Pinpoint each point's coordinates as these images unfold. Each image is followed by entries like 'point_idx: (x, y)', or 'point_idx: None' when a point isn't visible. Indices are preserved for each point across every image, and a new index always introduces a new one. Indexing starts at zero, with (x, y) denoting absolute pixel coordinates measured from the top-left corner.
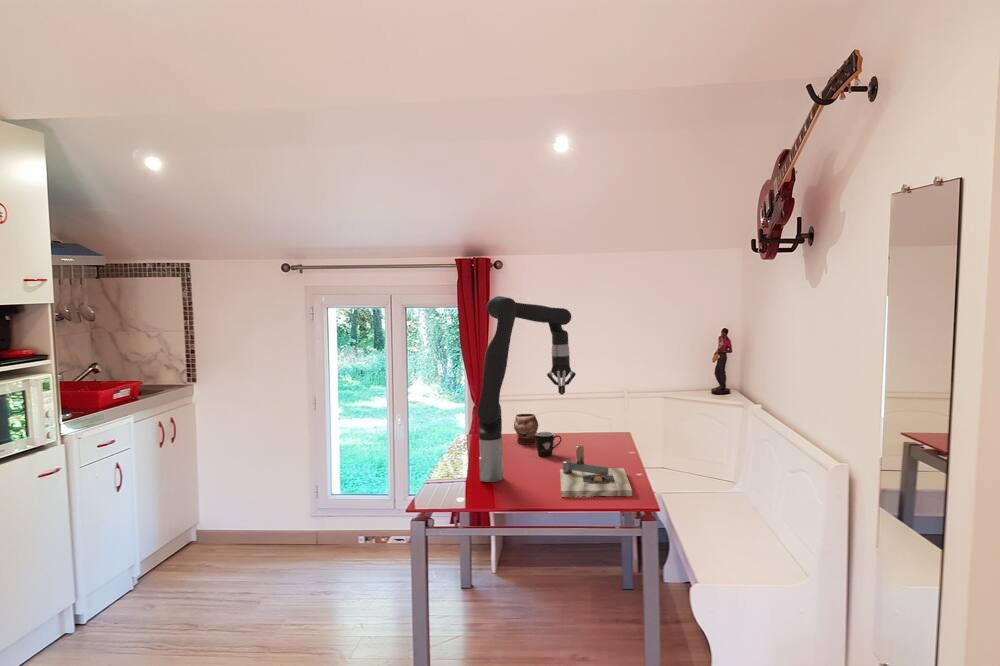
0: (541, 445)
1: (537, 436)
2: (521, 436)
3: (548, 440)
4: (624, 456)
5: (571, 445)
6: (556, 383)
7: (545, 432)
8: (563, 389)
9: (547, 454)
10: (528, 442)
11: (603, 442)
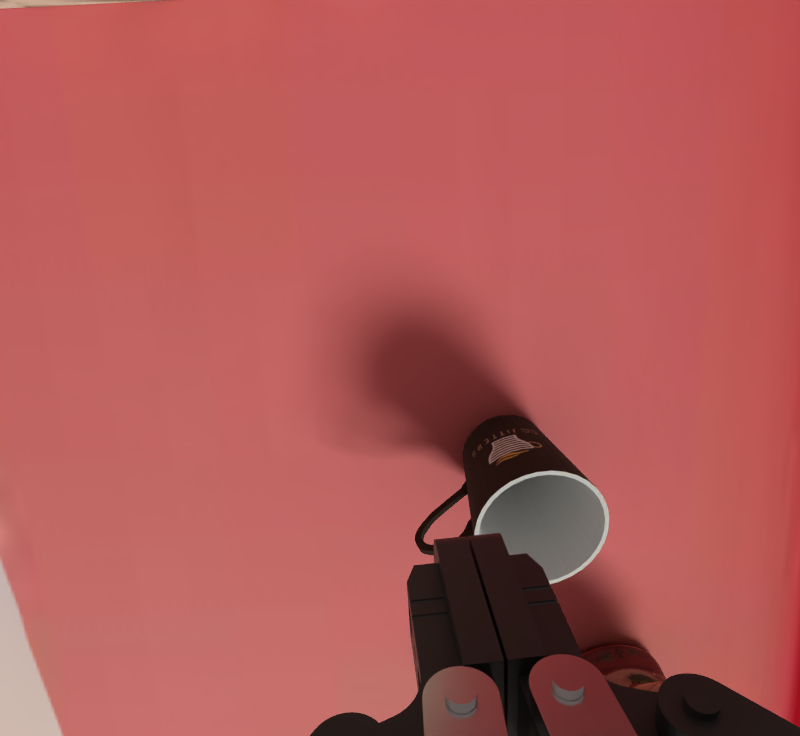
0: (545, 445)
1: (591, 483)
2: (652, 677)
3: (505, 465)
4: (9, 446)
5: (359, 643)
6: (671, 709)
7: None
8: (447, 617)
9: (493, 424)
10: (600, 651)
11: (182, 703)
